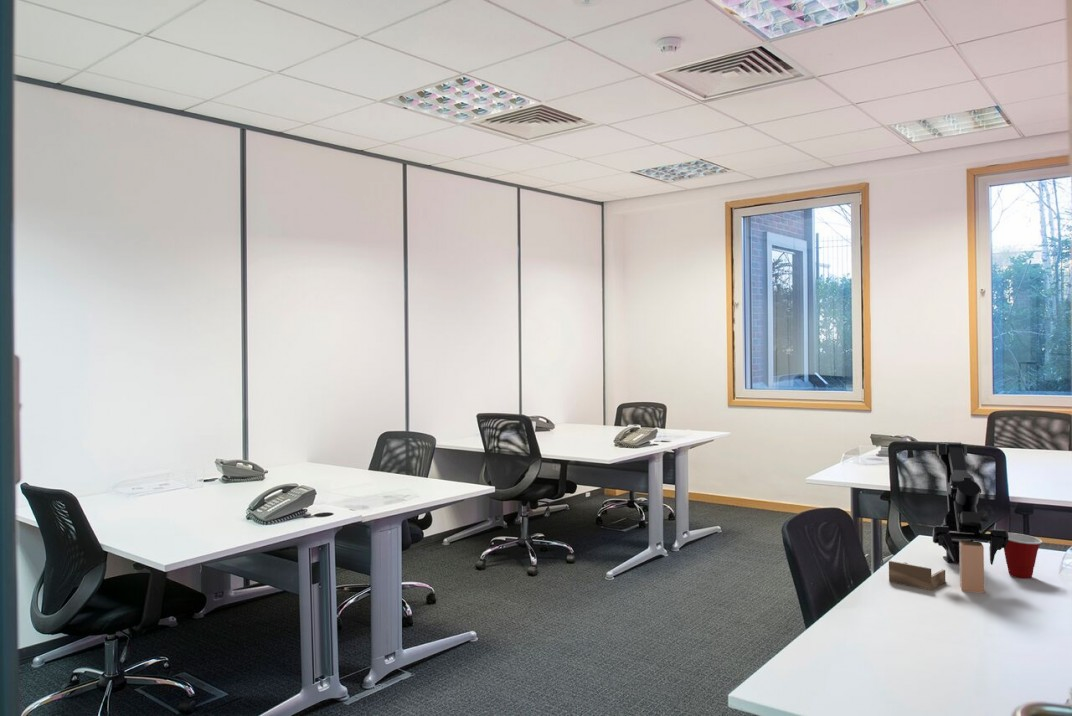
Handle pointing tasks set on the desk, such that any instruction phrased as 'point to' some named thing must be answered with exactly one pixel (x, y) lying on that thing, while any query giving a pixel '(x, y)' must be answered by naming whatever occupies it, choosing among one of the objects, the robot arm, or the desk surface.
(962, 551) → the tall peach pillar
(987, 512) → the robot arm
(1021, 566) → the plastic cup
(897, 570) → the brown l-shaped block
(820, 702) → the desk surface
